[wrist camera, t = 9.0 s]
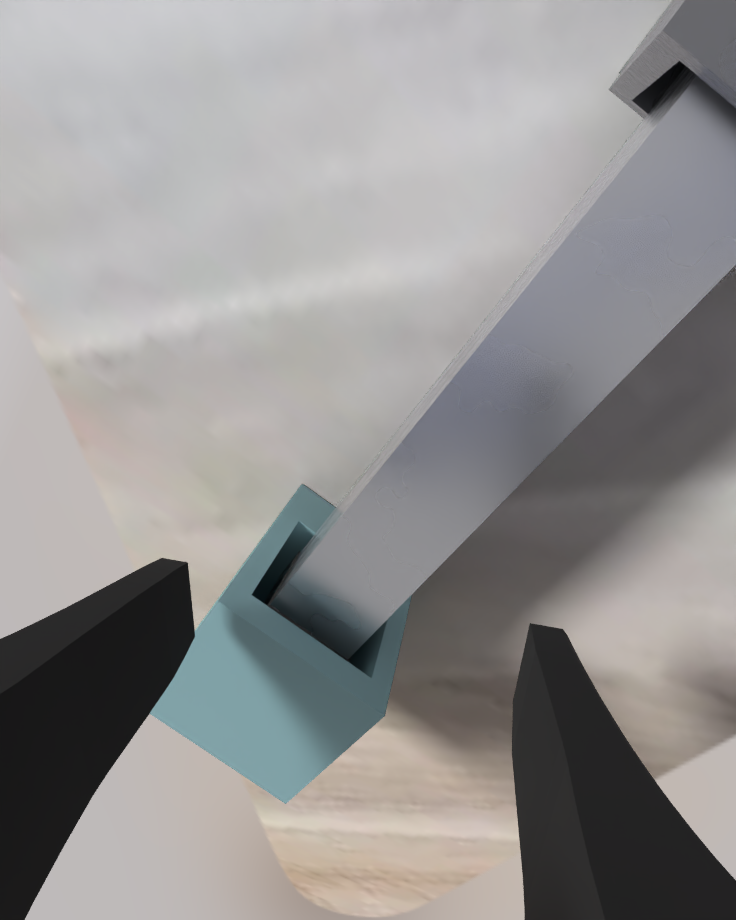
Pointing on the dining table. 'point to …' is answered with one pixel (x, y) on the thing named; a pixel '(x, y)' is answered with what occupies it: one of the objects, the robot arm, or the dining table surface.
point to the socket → (277, 673)
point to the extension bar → (531, 367)
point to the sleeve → (682, 53)
